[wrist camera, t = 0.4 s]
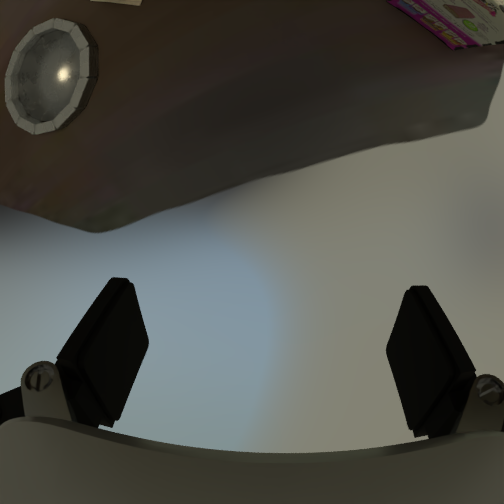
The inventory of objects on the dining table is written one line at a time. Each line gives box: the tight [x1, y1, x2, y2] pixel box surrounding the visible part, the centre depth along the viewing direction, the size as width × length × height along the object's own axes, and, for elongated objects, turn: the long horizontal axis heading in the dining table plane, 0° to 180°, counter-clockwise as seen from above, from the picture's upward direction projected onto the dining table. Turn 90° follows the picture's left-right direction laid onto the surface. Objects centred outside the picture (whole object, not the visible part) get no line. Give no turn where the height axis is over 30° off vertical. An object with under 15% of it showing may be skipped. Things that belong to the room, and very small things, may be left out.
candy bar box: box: [387, 0, 504, 50], centre depth 18 cm, size 11×5×16 cm, turn 65°
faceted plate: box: [5, 18, 98, 135], centre depth 30 cm, size 17×17×2 cm
